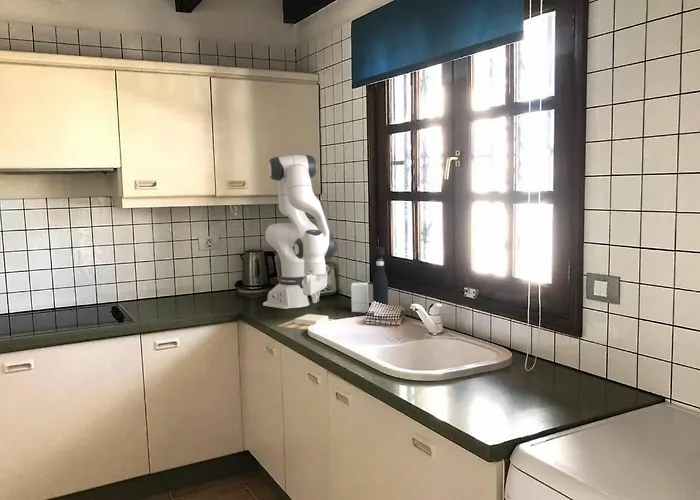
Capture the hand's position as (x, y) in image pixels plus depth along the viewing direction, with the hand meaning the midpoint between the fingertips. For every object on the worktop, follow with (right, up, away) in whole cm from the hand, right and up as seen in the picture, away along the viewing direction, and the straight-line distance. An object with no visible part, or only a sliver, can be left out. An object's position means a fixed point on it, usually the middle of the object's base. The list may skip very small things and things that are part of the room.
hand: (315, 302), depth 269 cm
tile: (+1, -7, +2) cm, 7 cm away
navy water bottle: (+28, -7, +10) cm, 30 cm away
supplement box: (+19, -6, +21) cm, 29 cm away
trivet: (-2, -9, -3) cm, 10 cm away
